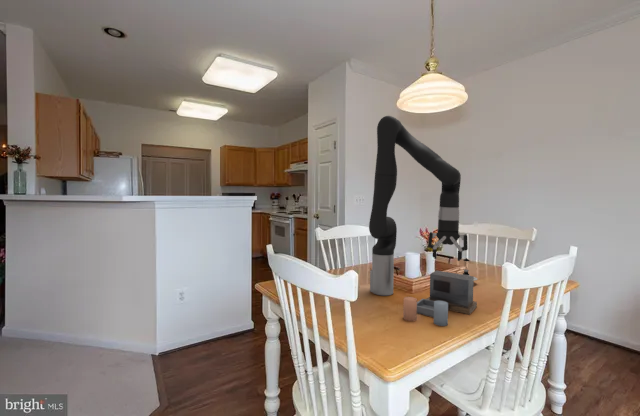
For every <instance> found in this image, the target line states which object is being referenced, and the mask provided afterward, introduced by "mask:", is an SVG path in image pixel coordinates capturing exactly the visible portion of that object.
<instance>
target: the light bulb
mask: <svg viewBox="0 0 640 416" xmlns="http://www.w3.org/2000/svg"><path fill="white" fill-rule="evenodd" d="M463 261H464V262H463V263H464V267H465V269H463V273H462V275H468V276H471V275H470V273H469V271H470V270H469V269H468V268H467V266H466V264H467V263H466V262H470V259H468V258H464V259H463ZM474 281H478V278H477V277H475V276H474ZM473 284H474V282H473Z"/></svg>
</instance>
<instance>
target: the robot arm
mask: <svg viewBox="0 0 640 416" xmlns="http://www.w3.org/2000/svg"><path fill="white" fill-rule="evenodd" d="M376 138H377V139H376V140H377V141H376V142H377V143H376V144H377V146H376V147H377V151H376V160H375V161H376V162H375V171H374V181H373V183H374V184H373V194H372V195H373V197H372V206H371V212H370V216H369V223H368V230H369V233H370V236H371V237H372V238H373V239H374V240H375V239H376V240H377V241H376V243H375V244H374V245H373V246H372V249H371V250H372V251H371V253H372V254H371V255H372V256H371V257H372V258H371V259H372V260H371V269H370V272H369V292H371V293H372V294H374V295H377V296H391V295H393V294H394V273H395V272H394V271H395V269H394V268H395V267H394V266H395V264H394V263H395V262H394V261H395V259H394V258H395V257H394V256H395V253H394V252H395V249H396V246H397V233H398V232H397V223H396V221H395V219H393V217H390V216H388V207H389V204H390V202H391V200H392V197H393V195H394V193H395V191H396V187H397V180H398V167H397V166H398V165H397V159H396V151H395V149H396V145H398V146H399V147H400V148H402V149H403V150H405V152H407V153H408V154H409V156H411V157H412V158H413V160H415V161H416V162H417V163H418V164H419V165H421V167H423V168H424V169H426V170H427V171H428V172H430V173H431V174H432V175H433V176H434V177H435V178H436V179H438V180H439V181H440V182H441V193H440V195H439V210H438V214H437V232H431V231H430V232H429V233H428V235H429V236H428V244H427V245H428V246H427V247H428V248H430V249H432V258H434V260H437V248H438V247H439V246H441V245H450V246H452V245H454V246H455V248H456V249H457V261H458V262H461V260H462V259H463V252H465V251H468V249H469V248H468V247H469V246H468V245H469V244H468V235H467V234H465V233H464V234H460V233H459V232H460V231H459V228H460V227H459V226H460V209H459V207H460V189H461V188H460V187H461V179H462V178H461V175H462V174H461V172H460V171H459V169H457V168H456V167H454V166H453V165H452V164H450V163H449V162H447V161H446V160H444V159H443V158H442V157H441V155H439V154H438V153H436V152H435V151H434V150H433V149H431V148H430V147H429V146H428V145H426V144H425V143H423V142H421V141H420V140H418V139H417V138H416V137H414V135H413V134H411V133H410V132H409V131H408V129H406V128H405V126H404V125H403V124H402V123H401V121H400V120H399V119H397V118H396V117H394V116H392V115H386V116H385V115H384V116H383V117H381V118H380V120H379V121H378V124H377V128H376ZM435 237H437V239H438V240H437V241H436V243H435V244H433V243H432V242H433V239H434V238H435ZM459 239H461V240H462V241H463V242H462V243H463V246H461V245H460V244H459V243H458V240H459Z"/></svg>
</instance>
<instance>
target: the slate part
mask: <svg viewBox="0 0 640 416" xmlns="http://www.w3.org/2000/svg"><path fill="white" fill-rule="evenodd" d="M448 319H449V310H448V303H447V302H445V301H439V300H438V301H434V317H433V324H434V325H436V326H440V327H447V326H448V324H449V322H448V321H449V320H448Z"/></svg>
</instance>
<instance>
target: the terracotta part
mask: <svg viewBox="0 0 640 416" xmlns="http://www.w3.org/2000/svg"><path fill="white" fill-rule="evenodd" d="M417 302H418V299H417V297H413V296H404V297H403V309H402V310H403V314H402V315H403V316H402V318H403V319H404V321H407V322H415V321H417V314H418V313H417Z"/></svg>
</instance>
